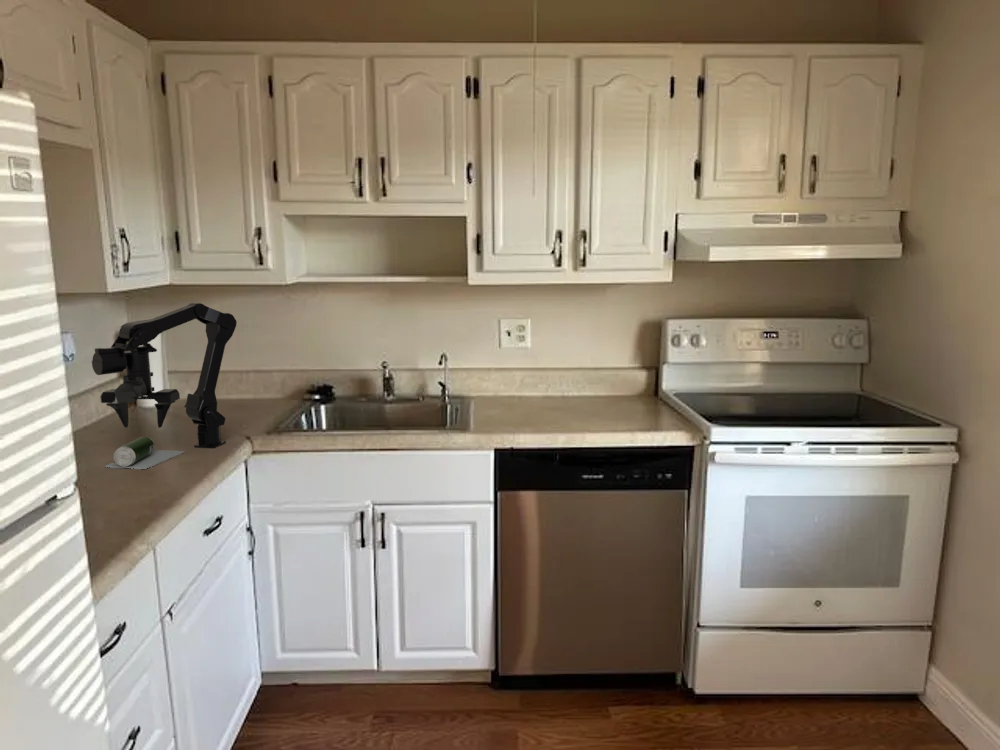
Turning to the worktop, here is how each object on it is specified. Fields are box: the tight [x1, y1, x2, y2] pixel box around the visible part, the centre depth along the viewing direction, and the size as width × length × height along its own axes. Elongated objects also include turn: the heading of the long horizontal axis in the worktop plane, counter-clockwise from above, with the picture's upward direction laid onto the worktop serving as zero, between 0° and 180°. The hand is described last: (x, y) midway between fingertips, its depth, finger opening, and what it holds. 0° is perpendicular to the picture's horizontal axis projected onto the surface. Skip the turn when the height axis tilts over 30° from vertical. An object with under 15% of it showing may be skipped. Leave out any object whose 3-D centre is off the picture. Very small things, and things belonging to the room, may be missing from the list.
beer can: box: [113, 436, 156, 467], centre depth 186 cm, size 5×5×12 cm
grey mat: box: [105, 449, 186, 470], centre depth 189 cm, size 16×12×1 cm
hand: (143, 427), depth 187 cm, fingers open, 9 cm apart
